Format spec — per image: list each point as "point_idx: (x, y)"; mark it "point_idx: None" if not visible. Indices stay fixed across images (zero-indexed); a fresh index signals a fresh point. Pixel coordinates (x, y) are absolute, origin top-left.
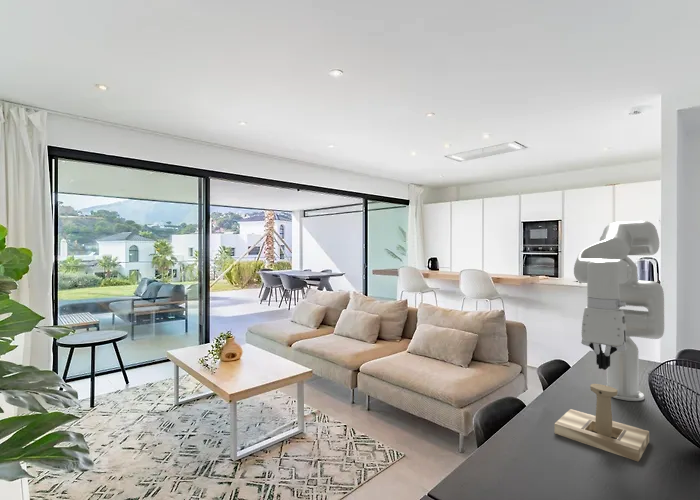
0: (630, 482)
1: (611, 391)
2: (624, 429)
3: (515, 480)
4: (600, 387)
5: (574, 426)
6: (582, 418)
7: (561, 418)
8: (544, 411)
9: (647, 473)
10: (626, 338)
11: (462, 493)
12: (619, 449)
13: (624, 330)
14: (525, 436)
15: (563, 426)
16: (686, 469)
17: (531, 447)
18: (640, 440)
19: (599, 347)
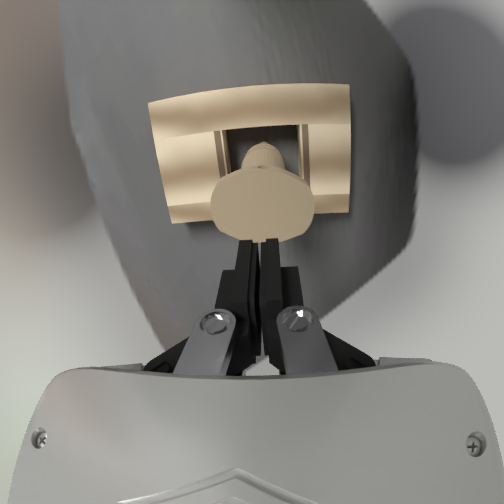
0: (339, 277)
1: (299, 229)
2: (301, 119)
3: None
4: (251, 214)
5: (207, 202)
6: (198, 138)
7: (165, 184)
8: (103, 122)
9: (358, 232)
10: (486, 416)
11: None
12: None
13: (502, 500)
14: (156, 265)
15: (191, 221)
16: (408, 167)
17: (187, 290)
18: (344, 158)
19: (215, 357)
